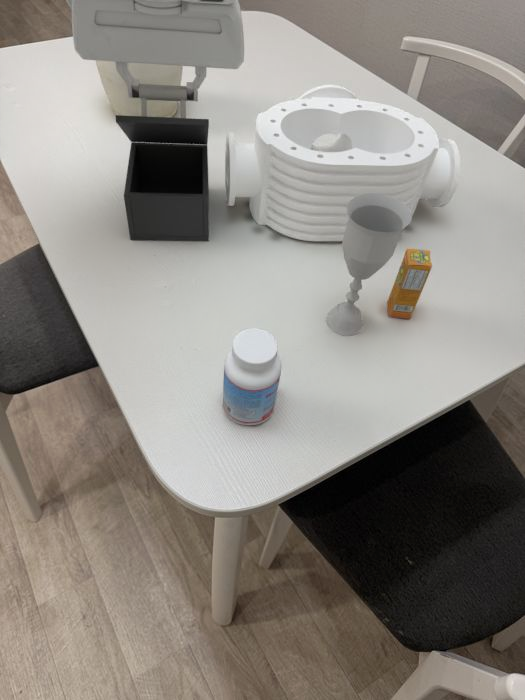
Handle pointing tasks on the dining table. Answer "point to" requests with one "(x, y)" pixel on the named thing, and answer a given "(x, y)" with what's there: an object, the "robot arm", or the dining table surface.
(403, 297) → the supplement box
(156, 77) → the jug
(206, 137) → the chamber lid
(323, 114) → the housing
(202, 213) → the box
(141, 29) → the robot arm
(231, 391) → the pill bottle
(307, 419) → the dining table surface
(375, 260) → the chalice
